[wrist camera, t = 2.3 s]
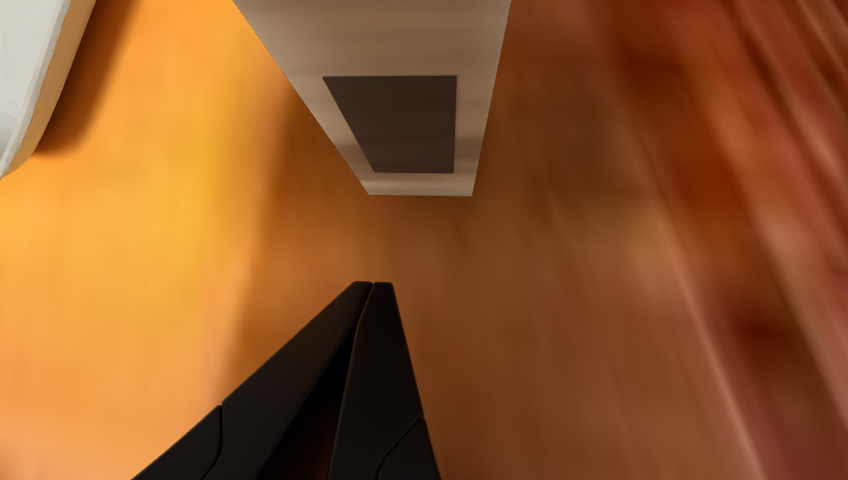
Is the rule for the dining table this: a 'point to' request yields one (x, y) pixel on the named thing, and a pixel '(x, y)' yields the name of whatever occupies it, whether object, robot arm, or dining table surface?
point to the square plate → (34, 69)
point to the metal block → (392, 82)
